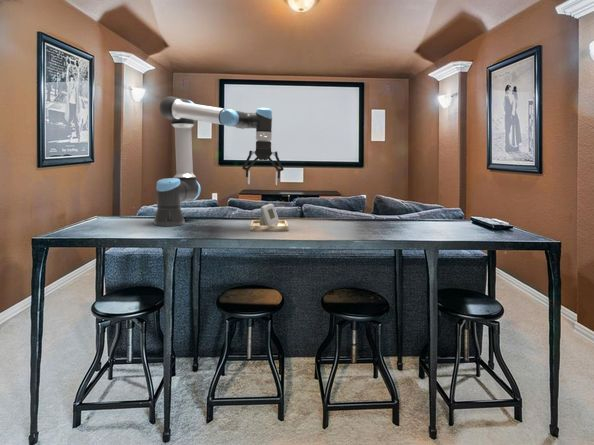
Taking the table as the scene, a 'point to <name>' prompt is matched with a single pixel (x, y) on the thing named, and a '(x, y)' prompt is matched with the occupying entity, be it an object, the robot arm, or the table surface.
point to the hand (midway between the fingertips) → (262, 184)
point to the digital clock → (269, 216)
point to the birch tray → (279, 227)
